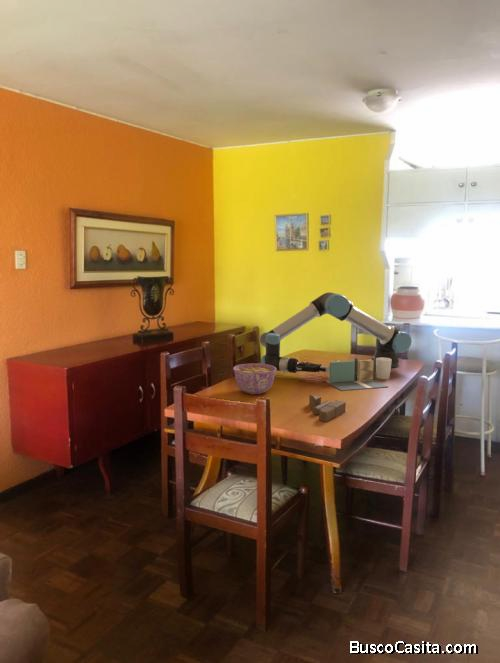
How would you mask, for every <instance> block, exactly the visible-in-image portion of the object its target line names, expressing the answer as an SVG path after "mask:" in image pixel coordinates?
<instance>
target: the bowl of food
mask: <svg viewBox="0 0 500 663" xmlns="http://www.w3.org/2000/svg"><path fill="white" fill-rule="evenodd" d="M232 369H233V373H234V377H235V382H236V385H237V387H238V388H239V390H242V391H243V392H245V393H246V392H247V393H250V394H249V395H253V394H257V395H261V394H264V393H265V392H267V391H269V390H270V389H271V388H272V386H273V384H274V380H275V376H276V372H277V371H276V369H277V368H276V367H274V366H272V365H268V364H261V363H253V362H252V363H242V364H238V365H234V367H233V368H232ZM247 393H246V394H247Z"/></svg>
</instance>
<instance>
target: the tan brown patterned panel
mask: <svg viewBox="0 0 500 663" xmlns="http://www.w3.org/2000/svg"><path fill="white" fill-rule="evenodd" d="M354 361H355V375H354V381H357V378H358V380H375V374H376V366H375V357H374V356H372V357H371V359H359V357H358V358H357V357H356V358H354Z"/></svg>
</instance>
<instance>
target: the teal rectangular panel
mask: <svg viewBox="0 0 500 663" xmlns="http://www.w3.org/2000/svg"><path fill="white" fill-rule="evenodd" d="M329 367H330V373H329V379H328V380H329V382H344V381H354V375H355V360H342V361H330V362H329Z"/></svg>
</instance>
